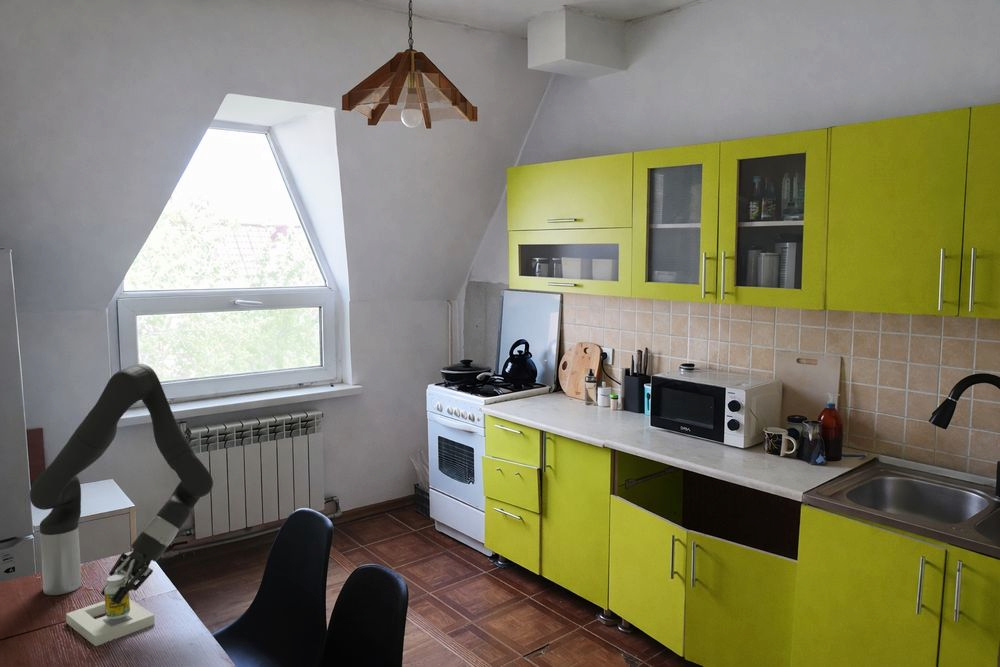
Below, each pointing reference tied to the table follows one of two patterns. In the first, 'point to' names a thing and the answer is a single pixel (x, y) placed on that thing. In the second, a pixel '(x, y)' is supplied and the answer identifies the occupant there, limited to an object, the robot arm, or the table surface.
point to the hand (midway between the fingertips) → (109, 598)
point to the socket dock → (108, 622)
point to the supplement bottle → (113, 585)
